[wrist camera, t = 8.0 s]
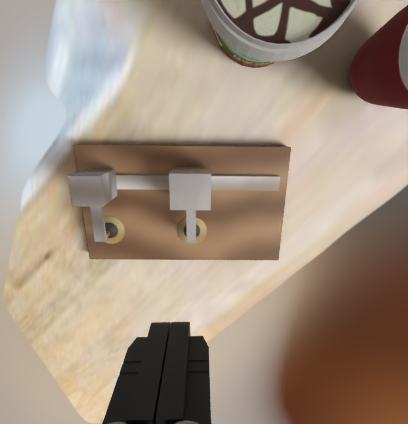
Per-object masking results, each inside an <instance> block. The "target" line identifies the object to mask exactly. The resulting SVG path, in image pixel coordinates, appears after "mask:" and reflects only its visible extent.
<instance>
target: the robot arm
mask: <svg viewBox="0 0 408 424" xmlns="http://www.w3.org/2000/svg"><path fill="white" fill-rule="evenodd" d="M210 412H211V411H210V378H209V347H208V345H207V343H206V341H205V339H204V338H203V336H190V322H171V323H170V322H161V323H151V326H150V330H149V333H148V337H137V338H136V339H135V341H134V342H133V343H132V344H131V345H130V347H129V348H128V350H127V353H126V356H125V359H124V363H123V365H122V368H121V371H120V375H119V377H118V379H117V382H116V385H115V388H114V391H113V394H112V397H111V400H110V403H109V406H108V409H107V412H106V415H105V418H104V421H103V423H102V424H211V413H210Z"/></svg>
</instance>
